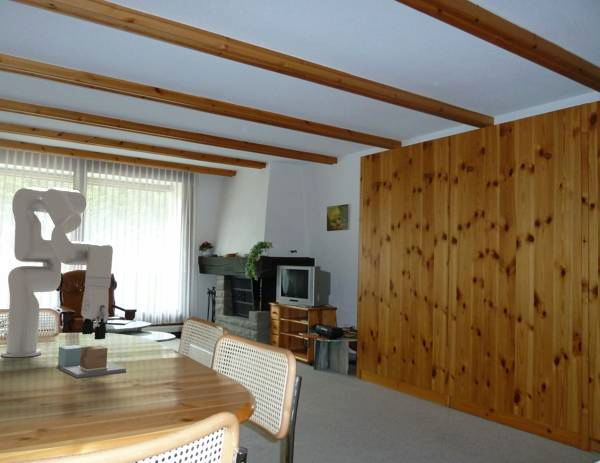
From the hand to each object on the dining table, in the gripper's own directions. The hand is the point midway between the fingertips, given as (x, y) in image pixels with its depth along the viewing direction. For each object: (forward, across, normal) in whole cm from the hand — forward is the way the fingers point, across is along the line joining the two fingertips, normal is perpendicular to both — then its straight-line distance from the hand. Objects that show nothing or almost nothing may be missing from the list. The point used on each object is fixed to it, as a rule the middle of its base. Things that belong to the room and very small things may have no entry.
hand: (93, 336), depth 163 cm
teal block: (+11, -11, -2) cm, 16 cm away
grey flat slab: (+10, +1, 0) cm, 11 cm away
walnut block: (+9, +1, 0) cm, 9 cm away
